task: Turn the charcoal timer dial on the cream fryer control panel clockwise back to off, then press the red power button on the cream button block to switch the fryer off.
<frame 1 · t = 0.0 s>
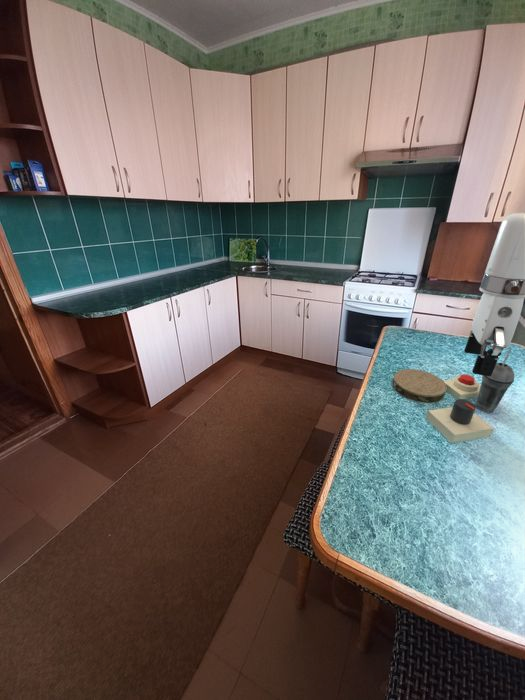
hand: (476, 363, 63), 26 cm above the table, tool pointing down, fingers open, 9 cm apart
brown cork coaster: (417, 389, 98), on the table
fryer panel: (456, 427, 81), on the table
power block: (462, 391, 96), on the table
timer dial: (462, 411, 79), point 6 cm above the table, hinge at 100.0°
power button: (466, 379, 94), point 5 cm above the table, slide at 0.2 cm
beverage cup: (484, 408, 89), on the table
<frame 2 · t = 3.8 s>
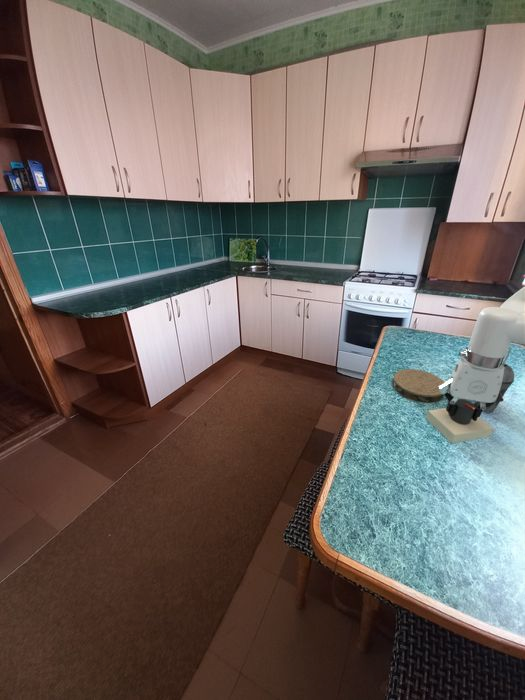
hand: (461, 415, 79), 4 cm above the table, tool pointing down, fingers closed on timer dial, 4 cm apart
timer dial: (462, 411, 79), point 6 cm above the table, hinge at 99.9°, touching gripper
everything else where it was.
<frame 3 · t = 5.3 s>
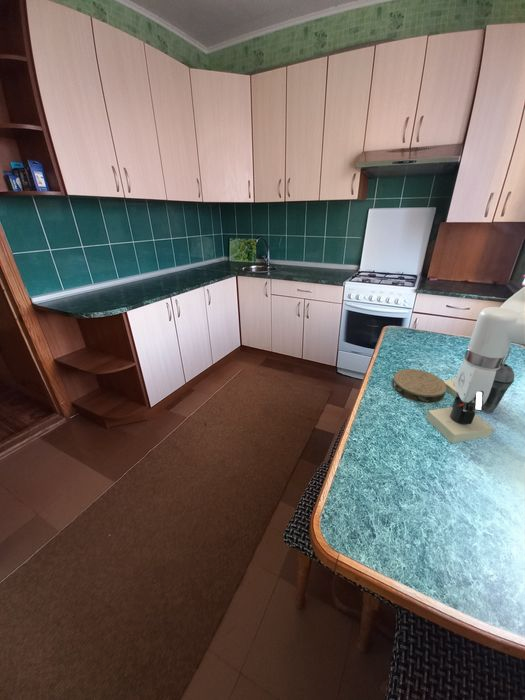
hand: (461, 415, 79), 4 cm above the table, tool pointing down, fingers closed on timer dial, 4 cm apart
timer dial: (462, 411, 79), point 6 cm above the table, hinge at 10.0°, touching gripper
everything else where it was.
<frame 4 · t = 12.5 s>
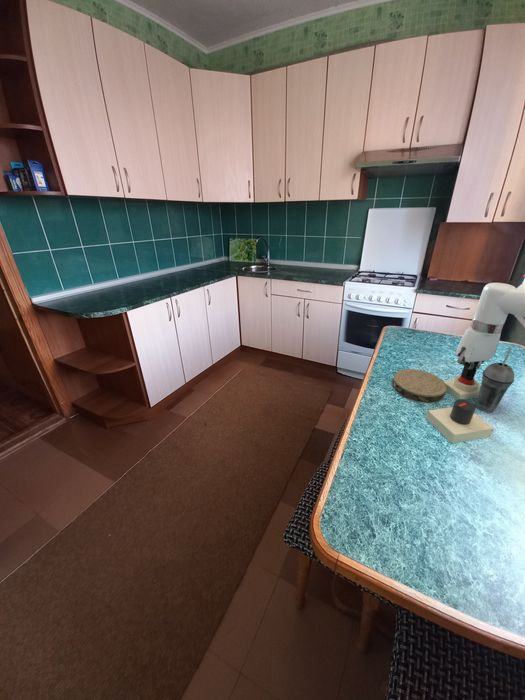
hand: (466, 377, 94), 5 cm above the table, tool pointing down, fingers closed
timer dial: (462, 411, 79), point 6 cm above the table, hinge at 11.4°
power button: (466, 380, 94), point 4 cm above the table, slide at -0.1 cm, touching gripper
everything else where it was.
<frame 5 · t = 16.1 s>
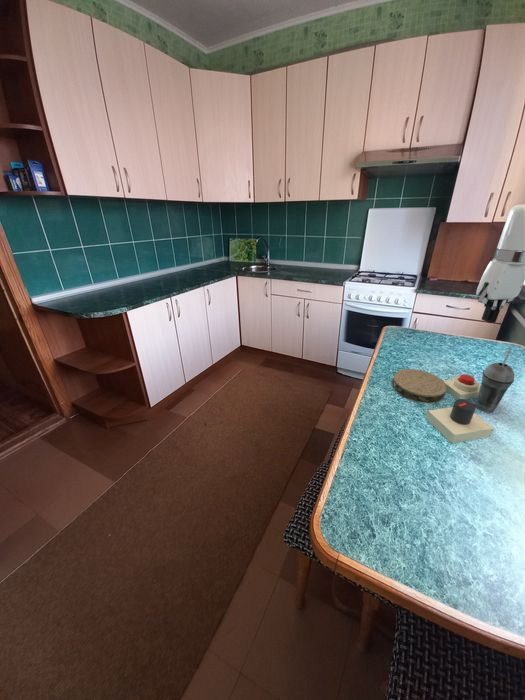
hand: (488, 321, 85), 25 cm above the table, tool pointing down, fingers closed
power button: (466, 379, 94), point 5 cm above the table, slide at 0.2 cm
everything else where it was.
at the end: timer dial at +11° (first picture: +100°); power button pushed in 1.1 cm at the most during the clip, back to 0.2 cm at the end; power button slide at 0.2 cm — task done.
